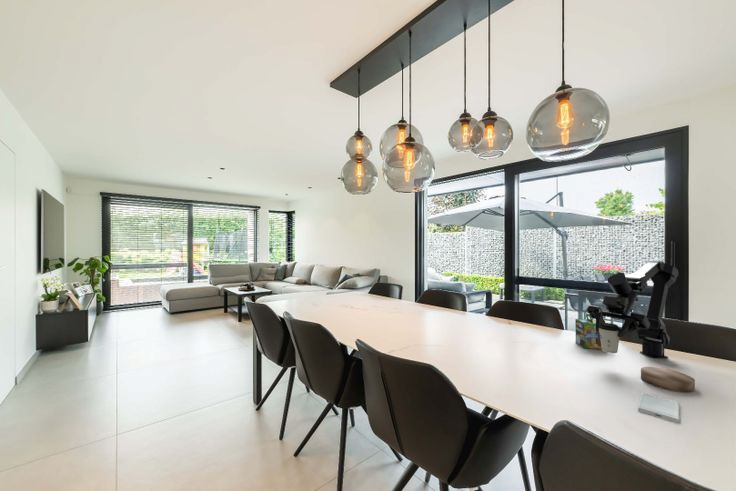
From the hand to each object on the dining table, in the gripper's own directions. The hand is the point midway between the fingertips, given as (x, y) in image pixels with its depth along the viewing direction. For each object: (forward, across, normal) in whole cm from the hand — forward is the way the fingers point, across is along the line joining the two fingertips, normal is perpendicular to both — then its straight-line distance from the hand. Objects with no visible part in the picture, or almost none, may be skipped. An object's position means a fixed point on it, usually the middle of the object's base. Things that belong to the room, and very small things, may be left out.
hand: (607, 334), depth 115 cm
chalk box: (-7, -18, +26) cm, 33 cm away
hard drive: (+22, +22, -3) cm, 31 cm away
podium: (+6, +15, +13) cm, 21 cm away
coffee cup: (+4, 0, +6) cm, 7 cm away
